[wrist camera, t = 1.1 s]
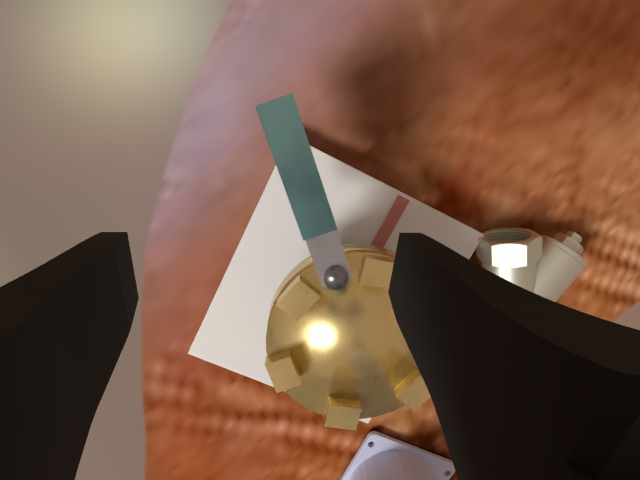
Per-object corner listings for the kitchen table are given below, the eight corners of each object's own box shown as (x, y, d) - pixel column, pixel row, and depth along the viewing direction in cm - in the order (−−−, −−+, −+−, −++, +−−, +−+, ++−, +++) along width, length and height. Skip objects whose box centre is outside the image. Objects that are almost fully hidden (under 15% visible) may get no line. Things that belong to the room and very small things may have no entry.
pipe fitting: (559, 215, 28) (468, 232, 28) (604, 228, 25) (500, 248, 24) (557, 318, 31) (472, 335, 30) (598, 344, 27) (502, 365, 26)
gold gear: (453, 367, 25) (483, 414, 21) (300, 416, 26) (302, 471, 22) (372, 71, 20) (391, 58, 16) (184, 136, 21) (157, 139, 17)
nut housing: (365, 412, 31) (375, 455, 27) (192, 344, 29) (175, 380, 25) (476, 230, 28) (507, 248, 24) (290, 135, 25) (289, 137, 21)
